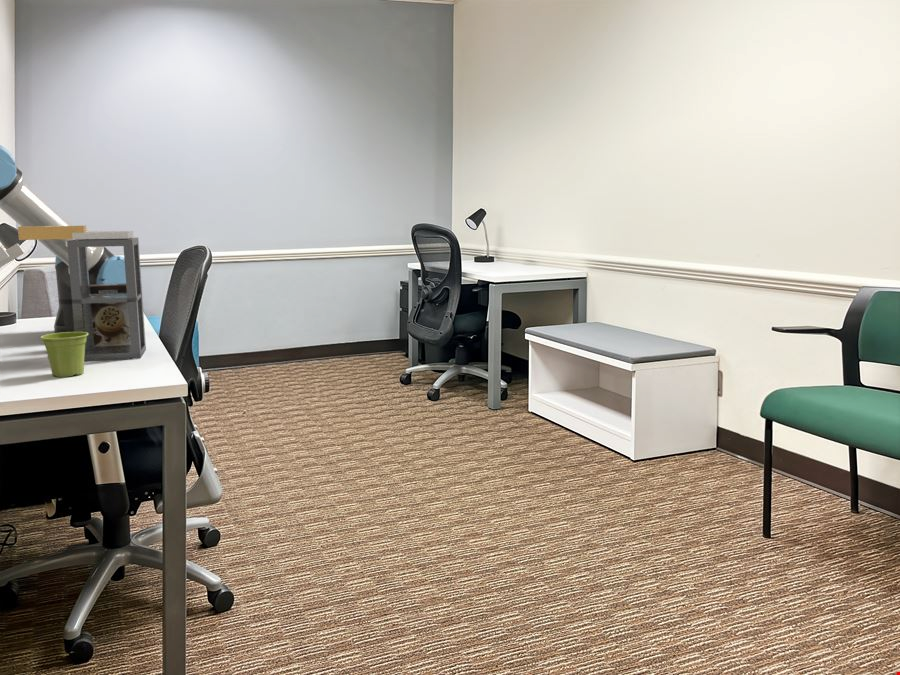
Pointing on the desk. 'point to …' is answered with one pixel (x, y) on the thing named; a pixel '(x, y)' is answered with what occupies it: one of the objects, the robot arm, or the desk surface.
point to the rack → (107, 298)
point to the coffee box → (110, 317)
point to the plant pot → (66, 352)
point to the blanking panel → (68, 233)
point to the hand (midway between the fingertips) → (13, 249)
